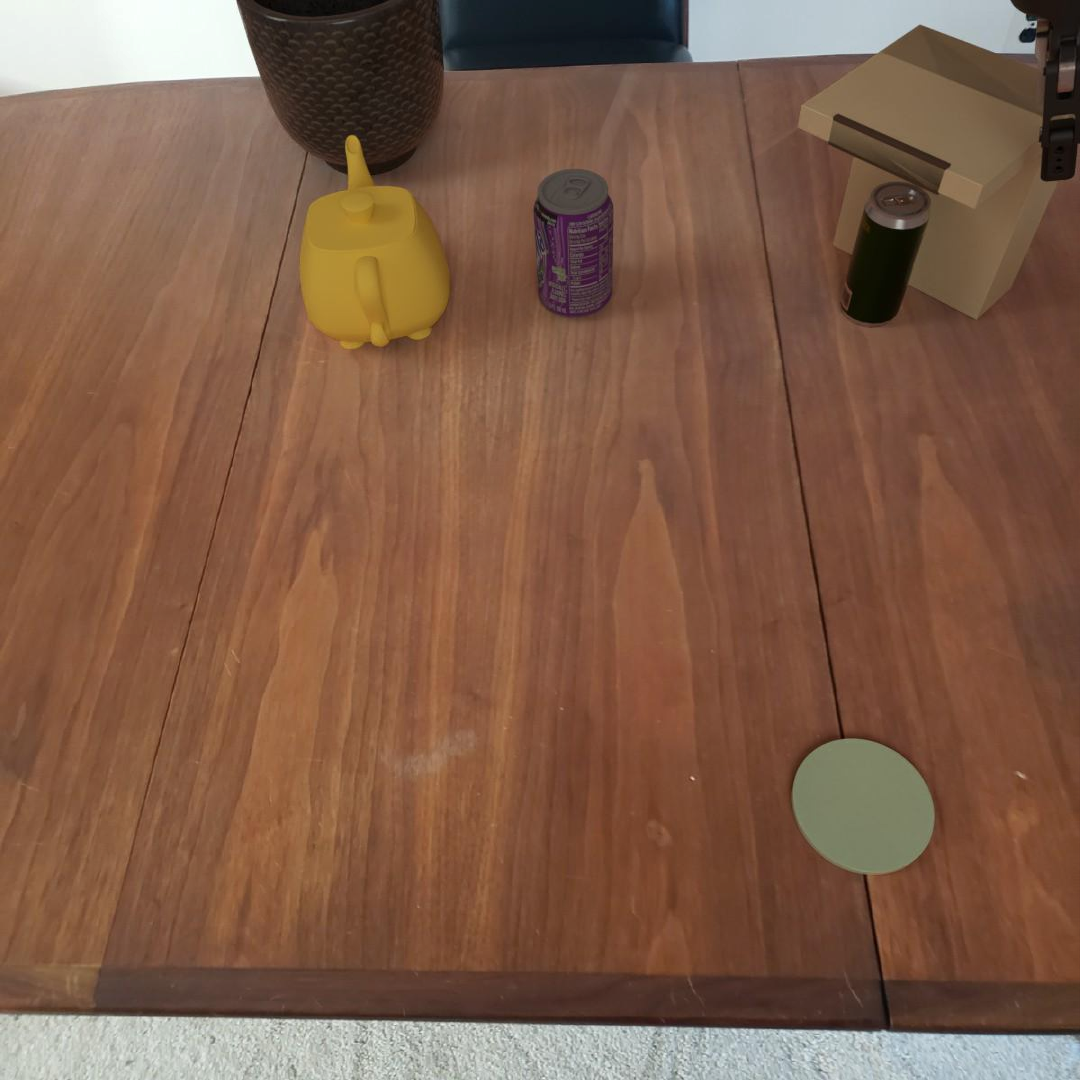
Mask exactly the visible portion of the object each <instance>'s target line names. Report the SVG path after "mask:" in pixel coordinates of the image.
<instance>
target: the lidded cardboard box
mask: <svg viewBox="0 0 1080 1080" xmlns="http://www.w3.org/2000/svg"><path fill="white" fill-rule="evenodd" d="M1037 73H1038V67H1037V68H1036V67H1034V66H1031V65H1029V64H1027V63H1023V62H1020V61H1019V60H1015V59H1013V58H1010V57H1008V56H1004V55H1002V54H1000V53H998V52H997V53H996V52H994V51H992V50H989V49H986V48H984V47H981V46H978V45H976V44H974V43H970V42H968V41H965V40H963V39H961V38H957V37H954V36H952V35H949V34H947V33H944V32H941V31H938V30H936V29H934V28H930V27H928V26H925V25H923V24H918V25H916V26H914V28H912V29H910V30H909V31H907V32H906V33H905V34H904V35H902V36H900V37H899V38H897V39H896V40H894V41H893V42H892V43H889V45H887V46H885V48H883V49H881V50H880V51H879V52H877V53H875V54H874V55H873V56H871V57H870V58H868V59H866V60H865V61H864V62H862V63H861V64H859V65H858V66H857V67H854V68H853V69H852V70H851V71H849V72H847V73H846V74H845V75H843V76H842V77H840V78H839V79H837V80H836V81H835V82H833V83H832V84H830V85H829V86H827V87H825V88H823V90H821V91H819V92H818V93H817V94H815V95H814V96H812V97H811V98H810V99H808V100H806V101H805V102H804V103H802V104H801V105H800V111H799V115H798V116H799V117H798V123H797V129H800V130H802V131H803V132H805V133H808V134H810V135H812V136H815V137H817V138H818V139H821V140H823V141H825V142H827V145H828V146H830V147H832V148H835V149H837V150H839V151H840V152H842V153H844V154H848V155H850V156H851V157H853V160H852V163H851V168H850V172H849V176H848V179H847V184H846V188H845V193H844V197H843V200H842V205H841V208H840V214H839V218H838V222H837V226H836V230H835V235H834V238H833V243H832V246H833V247H834V248H836V249H839V250H840V251H842V252H845V253H846V254H849V255H850V256H852V252H853V249H854V245H855V241H856V237H857V233H858V229H859V226H860V222H861V218H862V214H863V210H864V206H865V203H866V201H867V200H868V198H869V197H870V195H871V192H872V191H873V189H874V188H876V187H877V186H879V185H880V184H884V183H887V182H896V181H897V182H907V183H910V184H914V185H916V186H918V187H920V188H922V189H923V190H924V191H925V192H927V193H928V195H929V197H930V199H931V206H930V218H929V221H928V224H927V227H926V230H925V233H924V236H923V239H922V242H921V245H920V248H919V251H918V255H917V258H916V261H915V264H914V267H913V270H912V273H911V276H910V279H909V282H908V285H907V286H910V287H911V288H914V289H915V290H918V291H919V292H922V293H924V294H926V296H927V295H928V296H929V297H931V298H933V299H935V300H937V301H938V302H941V303H943V304H945V305H947V306H948V307H951V308H953V309H954V310H955V311H959V312H960V313H962V314H964V315H965V316H967V317H970V318H972V319H973V320H976V321H977V320H978V319H979V318H981V317H982V316H983V315H984V314H985V313H986V312H987V311H988V310H989V309H990V308H991V307H992V306H994V305H995V304H996V303H997V302H998V301H999V300H1000V299H1001V298H1002V297H1003V296H1004V295H1006V294H1007V293H1008V292H1009V291H1010V290H1012V288H1013V285H1014V283H1015V280H1016V278H1017V275H1018V274H1019V271H1020V269H1021V267H1022V264H1023V262H1024V260H1025V258H1026V255H1027V253H1028V251H1029V249H1030V246H1031V244H1032V242H1033V239H1034V237H1035V234H1036V232H1037V230H1038V228H1039V226H1040V224H1041V222H1042V218H1043V216H1044V215H1045V212H1046V210H1047V208H1048V205H1049V203H1050V201H1051V199H1052V196H1053V194H1054V192H1055V189H1056V187H1057V185H1058V182H1059V181H1049V182H1045V181H1043V180H1041V177H1040V176H1041V161H1042V148H1041V142H1039V135H1042V134H1039V131H1040V127H1042V122H1043V105H1042V104H1041V103H1039V102H1038V101H1037V100H1036V89H1037ZM1045 77H1046V76H1045ZM1074 116H1075V115H1074V114H1068V115H1059V116H1054V117H1052V118H1051V120H1056V119H1064V118H1073V117H1074ZM1051 120H1050V122H1051Z"/></svg>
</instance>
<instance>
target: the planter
mask: <svg viewBox="0 0 1080 1080" xmlns="http://www.w3.org/2000/svg"><path fill="white" fill-rule="evenodd" d="M235 1H236V5H237V6H236V7H237V10H238V13H239V16H240V19H241V22H242V25H243V29H244V32H245V36H246V38H247V42H248V45H249V48H250V51H251V54H252V56H253V60H254V62H255V65H256V68H257V72H258V74H259V77H260V79H261V82H262V86H263V88H264V91H265V94H266V96H267V99H268V102H269V104H270V106H271V108H272V110H273V112H274V114H275V117H276V119H277V120H278V122H279V123H280V125H281V127H282V128H283V129H284V131H285V133H286V134H287V135H288V136H289V137H290V138H291V140H293V141H294V143H296V145H298V146H299V147H300V148H302V149H303V150H304V151H306V152H307V153H309V154H310V155H312V156H314V157H315V158H318V159H320V160H323V161H324V162H325V163H326V164H327V165H328V166H329V167H330V168H332V169H333V170H336V171H338V172H339V173H342V174H346V175H348V164H347V156H346V150H345V142H346V139H347V137H348V136H350V135H354V136H356V137H357V138H358V140H359V142H360V144H361V148H362V152H363V156H364V160H365V163H366V166H367V168H368V171H369V173H370V175H371V176H373V175H379V174H384V173H387V172H390V171H392V170H394V169H397V168H398V167H400V166H402V165H403V164H404V163H406V162H407V161H409V159H410V158H411V157H412V156H413V155H414V153H415V152H416V151H417V148H418V145H419V144H420V143H421V142H422V141H423V140H424V139H425V138H426V136H427V135H428V134H429V132H430V131H431V130H432V128H433V127H434V125H435V122H436V121H437V118H438V116H439V114H440V112H441V107H442V101H443V95H444V90H445V89H444V88H445V62H444V50H443V49H444V47H443V37H442V36H443V35H442V34H443V33H442V22H441V12H440V3H439V0H235Z"/></svg>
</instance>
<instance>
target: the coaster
mask: <svg viewBox="0 0 1080 1080" xmlns="http://www.w3.org/2000/svg"><path fill="white" fill-rule="evenodd" d="M790 797H791V798H790V799H791V801H790V802H791V809H792V813H793V817H794V820H795V822H796V824H797V827H798V829H799V831H800V833H801V835H802V836H803V837H804V839H805V840H806V841H807V843H808V844H809V846H811V847H812V849H813V850H814V851H815V852H816V853H817V854H819V855H820V856H821V857H822V858H824V859H825V860H826V861H828V862H830V863H831V864H833V865H835V866H837V867H838V868H841V869H843V870H846V871H848V872H851V873H855V874H860V875H865V876H866V875H868V876H881V875H887V874H888V875H889V874H892V873H895V872H898V871H901V870H903V869H904V868H907V867H908V866H909V865H911V864H912V863H914V862H915V861H916V860H917V859H918V858H919V857H920V856H921V855H922V853H923V852H924V851H925V850H926V848H927V846H928V845H929V843H930V841H931V839H932V837H933V836H932V835H933V832H934V830H935V829H934V827H935V821H936V820H935V819H936V818H935V817H936V814H935V813H936V812H935V805H934V801H933V797H932V794H931V792H930V789H929V787H928V785H927V783H926V782H925V780H924V778H923V777H922V775H921V773H920V772H919V771H918V770H917V768H916V767H915V766H914V765H913V764H912V763H911V762H910V761H909V760H908V759H906V758H905V757H904V756H902V755H901V754H900V753H899V752H897V751H896V750H894V749H892V748H890V747H889V746H887V745H884V744H882V743H880V742H876V741H873V740H869V739H865V738H853V737H852V738H851V737H850V738H840V739H834V740H831V741H828V742H826V743H823V744H822V745H820V746H818V747H816V748H815V749H813V750H812V751H811V752H810V753H809V754H807V755H806V757H805V758H804V759H803V760H802V762H801V763H800V765H799V767H798V768H797V771H796V773H795V776H794V777H793V781H792V785H791V793H790Z"/></svg>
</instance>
